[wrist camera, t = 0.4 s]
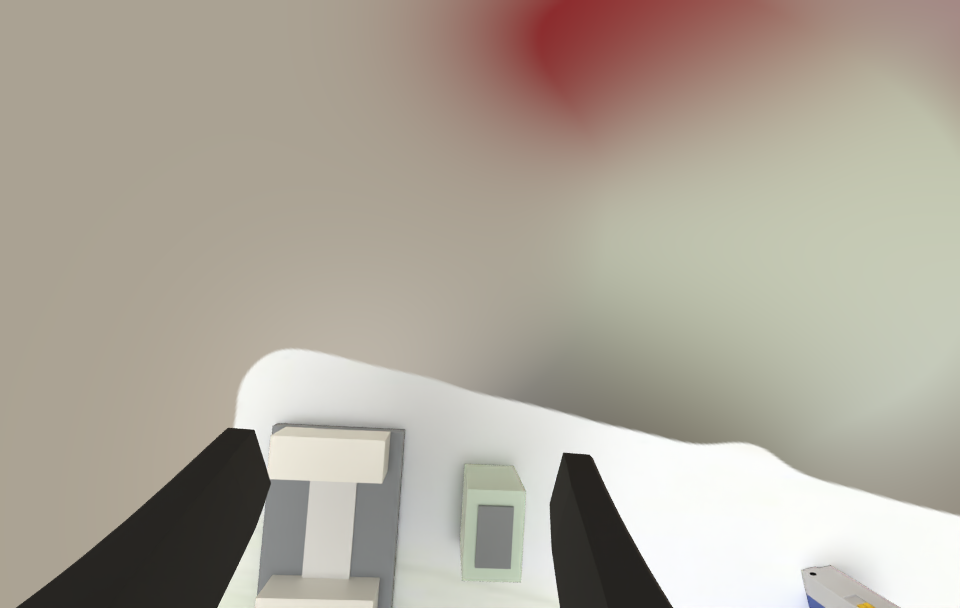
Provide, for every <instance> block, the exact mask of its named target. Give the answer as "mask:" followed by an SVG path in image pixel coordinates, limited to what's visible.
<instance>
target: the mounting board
mask: <svg viewBox="0 0 960 608" xmlns="http://www.w3.org/2000/svg"><path fill="white" fill-rule="evenodd" d="M285 427H302V428H315V429H319V428H320V429H321V428H322V429H326V430H328V429H331V430H333V429H334V430H335V429H336V430H348V431H349V430H350V431H351V430H352V431H353V430H354V431H361V430H365V431H386V432H391V434H390V447H389V461H388V471H387V474H386V476H385V478H384V480H383V483H382V484H378V483H353V482H328V481H303V480H278V479H270V481H271V485H270V488H269V491H268V494H267V497H266V504H265V515H264V526H263V536H262V547H261V558H260V569H259V580H258V591H257V595H258V594H259V593H260V591H261V590H262V589H263V587H264V586H265V585H266V583H267V582H268V580H269V579H270V578H271V576H272V575H300V576H302V578H332V579H349V578H350V577H375V578H380V582H379V595H378V608H392V600H393V586H394V572H395V558H396V544H397V530H398V516H399V503H400V489H401V475H402V461H403V447H404V433H405V430H403V429H382V428H361V427H340V426H319V425H298V424H276V425H274V426H273V428H272V434H274V433H276V432H278V431H279V430H281V429H283V428H285Z"/></svg>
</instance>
